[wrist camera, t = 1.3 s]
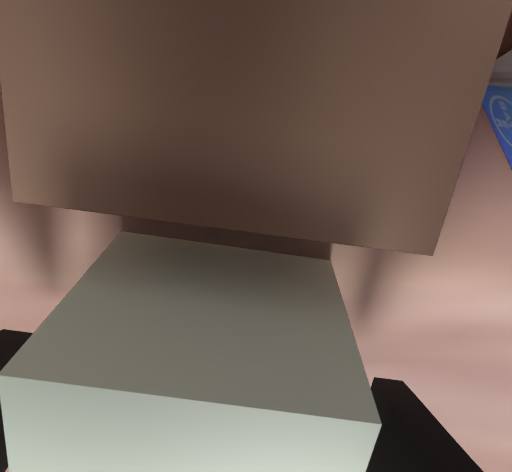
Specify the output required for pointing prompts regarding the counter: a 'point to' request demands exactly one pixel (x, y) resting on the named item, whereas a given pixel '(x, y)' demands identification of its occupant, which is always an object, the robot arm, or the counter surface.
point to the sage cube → (192, 367)
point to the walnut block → (249, 111)
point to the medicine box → (501, 102)
